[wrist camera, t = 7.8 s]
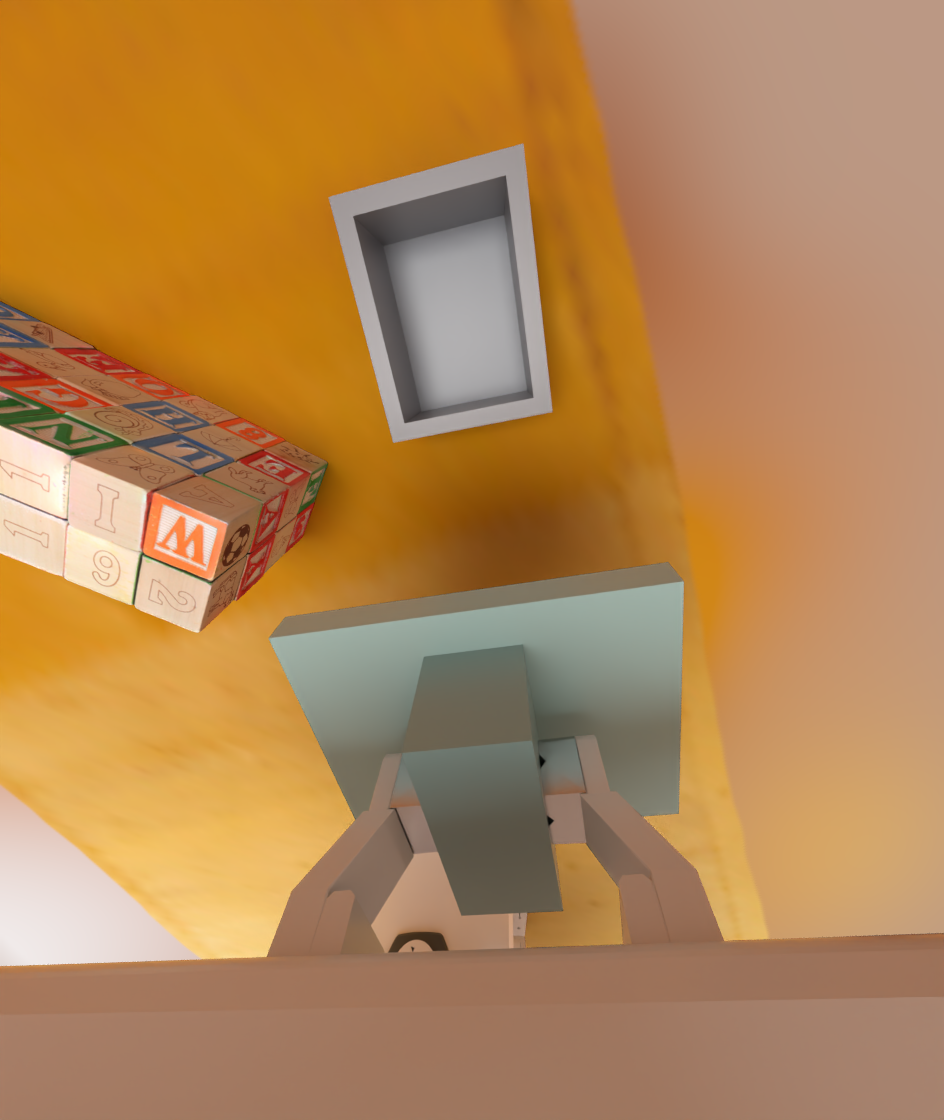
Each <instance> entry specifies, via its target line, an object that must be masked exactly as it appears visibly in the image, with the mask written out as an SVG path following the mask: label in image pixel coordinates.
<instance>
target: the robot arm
mask: <svg viewBox="0 0 944 1120" xmlns="http://www.w3.org/2000/svg"><path fill="white" fill-rule="evenodd" d="M538 752H539V758H540V764H541V769H540V770H541V779H542V788H543V797H544V802H545V808H546V813H547V815H548V823H549V830H550V835H551V841H552V844H569V843H587V846H588V847H589V849H590V850H591V851H592V853H593V854H594V855H595V857H596V858H597V859H598V861H599V862H600V863H601V865H602V866H603V867H604V869H605V870H606V871H607V873H608V874H609V876H610V877H611V878H612V880H613V881H614V882H615V884H616V885H617V886H618V888H619V896H620V910H621V923H622V936H623V945H594V946H565V947H536V948H526V947H525V931H526V921H527V913H511V914H489V915H468V916H461V913H460V911H459V908H458V905H457V902H456V900H455V897H454V894H453V892H452V889H451V886H450V884H449V881H448V878H447V875H446V873H445V870H444V867H443V865H442V862H441V859H440V857H439V854H438V851H437V848H436V846H435V843H434V840H433V838H432V835H431V832H430V830H429V827H428V824H427V821H426V819H425V816H424V813H423V811H422V808H421V805H420V802H419V800H418V797H417V794H416V792H415V789H414V786H413V784H412V781H411V778H410V775H409V773H408V770H407V767H406V765H405V762H404V759H403V757H402V754H401V753H394V754H386V756H385V757H384V759H383V761H382V765H381V768H380V772H379V776H378V779H377V783H376V786H375V790H374V793H373V797H372V801H371V804H370V808H369V811H363V812H362V813H361V815H360V816H359V817H358V818H357V819H356V820H355V821H354V822H353V823H352V825H351V826H350V827H349V828H348V829H347V830H346V831H345V832H344V834H343V835H342V836H341V837H340V838H339V839H338V840H337V841H336V842H335V844H334V845H333V846H332V847H331V848H330V849H329V850H328V851H327V853H326V854H325V855H324V856H323V857H322V858H321V859H320V860H319V861H318V863H317V864H316V865H315V866H314V867H313V868H312V869H311V870H310V872H309V873H308V874H307V875H306V876H305V877H304V878H303V879H302V880H301V882H300V883H299V884H298V885H297V886H296V887H295V888H294V889H293V890H292V892H291V895H290V897H289V900H288V902H287V905H286V908H285V910H284V913H283V916H282V918H281V921H280V923H279V926H278V929H277V931H276V934H275V937H274V939H273V942H272V944H271V947H270V950H269V952H268V955H267V957H256V958H228V959H201V960H174V961H145V962H118V963H88V964H60V965H59V964H58V965H29V966H0V1120H944V933H931V934H930V933H929V934H902V935H874V936H850V937H849V936H846V937H818V938H791V939H763V940H735V941H724V940H723V937H722V934H721V932H720V929H719V927H718V924H717V922H716V919H715V916H714V914H713V911H712V909H711V906H710V904H709V901H708V898H707V896H706V893H705V891H704V888H703V886H702V883H701V880H700V878H699V875H698V873H697V870H696V869H695V868H694V867H693V866H692V865H691V864H690V863H689V862H688V861H687V860H686V859H685V858H684V857H683V856H682V855H681V854H680V853H679V852H678V851H677V850H676V849H675V848H674V847H673V846H672V845H671V844H670V843H669V842H668V841H667V840H666V839H665V838H664V837H662V836H661V835H660V834H659V833H658V832H657V831H656V830H655V829H654V828H653V827H652V826H651V825H650V824H649V823H648V822H647V821H646V820H645V819H644V818H643V817H642V816H641V815H640V814H639V813H638V812H637V811H636V810H635V809H634V808H633V807H632V806H631V805H630V804H629V803H628V802H627V801H626V800H625V799H624V798H623V797H622V796H621V795H620V794H619V793H618V792H617V791H610V789H609V785H608V781H607V778H606V774H605V770H604V766H603V762H602V759H601V755H600V751H599V747H598V743H597V740H596V737H595V735H594V734H593V735H582V736H575V737H574V736H570V737H561V738H551V739H542V740H538Z"/></svg>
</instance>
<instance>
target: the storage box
mask: <svg viewBox="0 0 944 1120" xmlns="http://www.w3.org/2000/svg"><path fill="white" fill-rule="evenodd" d="M329 200H330V204H331V208H332V212H333V216H334V219H335V223H336V227H337V231H338V235H339V238H340V242H341V246H342V250H343V254H344V257H345V261H346V265H347V269H348V273H349V276H350V280H351V284H352V288H353V292H354V295H355V299H356V303H357V307H358V311H359V314H360V318H361V322H362V326H363V330H364V333H365V337H366V341H367V345H368V349H369V352H370V356H371V360H372V364H373V368H374V371H375V375H376V379H377V383H378V387H379V390H380V394H381V398H382V402H383V406H384V409H385V413H386V417H387V421H388V425H389V428H390V432H391V436H392V440H393V443H394V442H399V441H404V440H410V439H415V438H420V437H425V436H430V435H436V434H441V433H446V432H451V431H456V430H462V429H467V428H472V427H477V426H482V425H488V424H493V423H498V422H503V421H508V420H513V419H519V418H524V417H529V416H534V415H539V414H545V413H550V412H552V402H551V393H550V384H549V375H548V366H547V357H546V347H545V338H544V329H543V320H542V311H541V301H540V292H539V283H538V274H537V265H536V256H535V246H534V237H533V228H532V219H531V210H530V201H529V191H528V182H527V173H526V164H525V155H524V146H523V144H520V145H516V146H513V147H509V148H505V149H502V150H498V151H494V152H491V153H487V154H484V155H480V156H476V157H473V158H469V159H465V160H462V161H458V162H455V163H451V164H447V165H444V166H440V167H436V168H433V169H429V170H426V171H422V172H418V173H415V174H411V175H407V176H404V177H400V178H397V179H393V180H389V181H386V182H382V183H378V184H375V185H371V186H368V187H364V188H360V189H357V190H353V191H349V192H346V193H342V194H339V195H335V196H331V197H329Z"/></svg>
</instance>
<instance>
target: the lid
mask: <svg viewBox="0 0 944 1120" xmlns="http://www.w3.org/2000/svg"><path fill="white" fill-rule="evenodd" d="M683 597H684V581H683V580H682V578H681V577H680V576H679V575H678V574H677V572H676V571H675V570H674V569H673V568H672V566H671V565H670V564H669V563H668V562H666V563H659V564H652V565H645V566H638V567H631V568H624V569H617V570H611V571H604V572H597V573H590V574H583V575H576V576H569V577H562V578H555V579H548V580H541V581H534V582H527V583H520V584H513V585H506V586H499V587H492V588H485V589H478V590H471V591H464V592H457V593H450V594H443V595H436V596H429V597H422V598H415V599H408V600H401V601H394V602H387V603H380V604H373V605H366V606H359V607H352V608H345V609H338V610H331V611H324V612H317V613H310V614H303V615H296V616H289V617H285V618H284V619H283V621H282V622H281V623H280V624H279V626H278V627H277V628H276V630H275V631H274V632H273V633H272V635H271V636H270V637H269V640H270V643H271V645H272V647H273V649H274V651H275V653H276V655H277V657H278V659H279V661H280V663H281V665H282V668H283V670H284V672H285V674H286V676H287V678H288V680H289V682H290V684H291V686H292V688H293V690H294V693H295V695H296V697H297V699H298V701H299V703H300V705H301V707H302V709H303V711H304V713H305V716H306V718H307V720H308V722H309V724H310V726H311V728H312V730H313V732H314V734H315V736H316V738H317V741H318V743H319V745H320V747H321V749H322V751H323V753H324V755H325V757H326V759H327V761H328V764H329V766H330V768H331V770H332V772H333V774H334V776H335V778H336V780H337V782H338V784H339V786H340V789H341V791H342V793H343V795H344V797H345V799H346V801H347V803H348V805H349V807H350V809H351V811H352V814H353V816H354V818H355V820H356V819H357V818H358V817H359V816H360V815H361V813H362V812H363V811H369V808H370V804H371V801H372V797H373V793H374V790H375V786H376V783H377V779H378V776H379V772H380V768H381V765H382V761H383V759H384V757H385V756H386V754H394V753H401V754H402V757H403V759H404V762H405V765H406V767H407V770H408V773H409V775H410V778H411V781H412V784H413V786H414V789H415V792H416V794H417V797H418V800H419V802H420V805H421V808H422V811H423V813H424V816H425V819H426V821H427V824H428V827H429V830H430V832H431V835H432V838H433V840H434V843H435V846H436V848H437V851H438V854H439V857H440V859H441V862H442V865H443V867H444V870H445V873H446V875H447V878H448V881H449V884H450V886H451V889H452V892H453V894H454V897H455V900H456V902H457V905H458V908H459V911H460V913H461V916H468V915H489V914H511V913H532V912H554V911H563V906H562V897H561V889H560V881H559V873H558V865H557V856H556V848H555V844H552V841H551V835H550V830H549V823H548V815H547V813H546V808H545V802H544V797H543V788H542V779H541V770H540V769H541V764H540V758H539V752H538V740H542V739H551V738H561V737H570V736H574V737H575V736H582V735H593V734H594V735H595V737H596V740H597V743H598V747H599V751H600V755H601V759H602V762H603V766H604V770H605V774H606V778H607V781H608V785H609V789H610V791H617V792H618V793H619V794H620V795H621V796H622V797H623V798H624V799H625V800H626V801H627V802H628V803H629V804H630V805H631V806H632V807H633V808H634V809H635V810H636V811H637V812H638V813H639V814H640V815H641V816H654V815H668V814H679V778H680V733H681V687H682V642H683Z"/></svg>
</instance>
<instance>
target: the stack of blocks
mask: <svg viewBox="0 0 944 1120" xmlns="http://www.w3.org/2000/svg"><path fill="white" fill-rule="evenodd" d="M327 465H328V462H327V461H325V460H323V459H321V458H319V457H317V456H315V455H313V454H311V453H309V452H307V451H305V450H303V449H301V448H299V447H297V446H295V445H293V444H291V443H289V442H286V441H285V440H284V439H283V438H281V437H279V436H277V435H275V434H273V433H271V432H269V431H267V430H265V429H263V428H261V427H259V426H257V425H255V424H253V423H251V422H249V421H247V420H245V419H242V418H240V417H238V416H237V415H234V414H233V413H231V412H229V411H227V410H225V409H223V408H221V407H219V406H217V405H215V404H213V403H210V402H208V401H206V400H204V399H202V398H200V397H198V396H195V395H193V396H192V395H189V394H188V393H186V392H184V391H182V390H180V389H178V388H175V387H173V386H171V385H170V384H167V383H165V382H163V381H161V380H159V379H157V378H155V377H153V376H151V375H149V374H144V373H143V372H141V371H139V370H137V369H135V368H133V367H131V366H129V365H127V364H125V363H123V362H121V361H118V360H116V359H114V358H112V357H110V356H108V355H106V354H104V353H102V352H100V351H96V350H95V348H94V347H93V346H91V345H89V344H87V343H85V342H83V341H81V340H79V339H77V338H75V337H73V336H71V335H69V334H67V333H65V332H63V331H61V330H59V329H57V328H55V327H53V326H51V325H48V324H46V323H43V322H41V321H39V320H37V319H35V318H33V317H31V316H29V315H27V314H25V313H23V312H21V311H19V310H17V309H14V308H12V307H10V306H8V305H6V304H4V303H2V302H0V553H1V554H3V555H5V556H8V557H10V558H13V559H16V560H18V561H21V562H24V563H26V564H29V565H32V566H34V567H37V568H39V569H41V570H44V571H46V572H49V573H52V574H55V575H59V576H63V577H64V578H65V579H66V580H68V581H71V582H73V583H75V584H78V585H81V586H84V587H86V588H89V589H91V590H93V591H96V592H98V593H101V594H103V595H106V596H108V597H111V598H113V599H116V600H119V601H121V602H124V603H126V604H129V605H135V607H136V608H137V609H139V610H141V611H143V612H145V613H148V614H150V615H153V616H155V617H158V618H161V619H163V620H165V621H168V622H170V623H173V624H175V625H178V626H180V627H183V628H185V629H187V630H190V631H192V632H197V633H198V632H201V631H202V630H203V629H204V628H205V627H206V626H207V625H208V624H209V623H210V622H211V621H212V620H213V619H214V618H216V617H217V616H218V615H219V614H220V613H221V612H222V611H223V610H224V609H225V608H226V607H227V606H228V605H229V604H230V603H231V602H232V601H233V600H236V601H237V600H238V599H239V598H240V597H241V596H242V595H244V594H245V593H246V592H247V591H248V590H249V589H250V588H251V587H252V586H253V585H254V584H255V583H257V581H258V580H259V579H260V578H261V577H262V576H263V574H264V573H265V572H266V571H267V570H268V569H269V568H270V567H271V566H272V565H273V564H274V563H275V562H276V561H277V560H278V559H279V558H280V557H281V556H282V555H283V554H285V553H286V552H287V551H288V550H290V548H292V547H293V546H294V545H295V544H296V543H297V542H298V541H299V540H300V539H301V538H302V537H303V535H304V532H305V529H306V526H307V523H308V521H309V518H310V515H311V512H312V509H313V506H314V503H315V498H316V496H317V493H318V490H319V487H320V484H321V482H322V479H323V476H324V473H325V470H326V468H327Z"/></svg>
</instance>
